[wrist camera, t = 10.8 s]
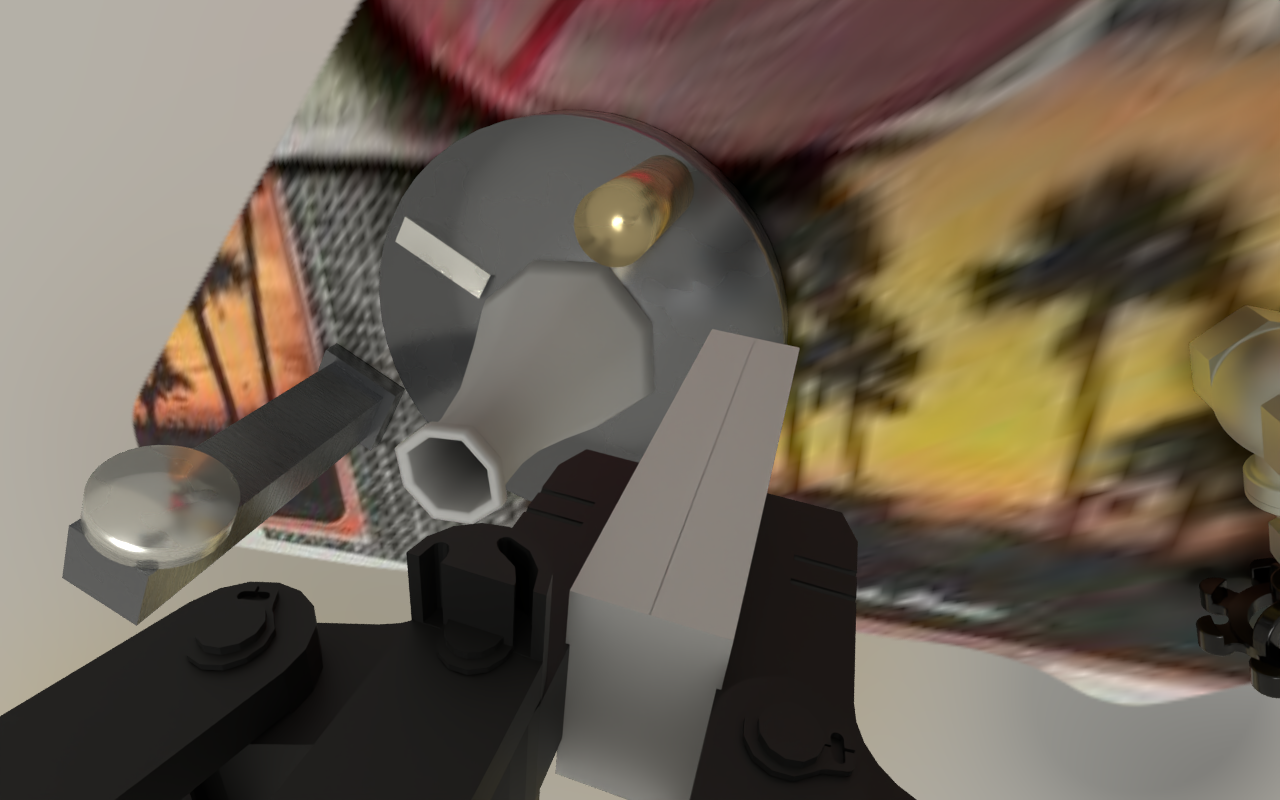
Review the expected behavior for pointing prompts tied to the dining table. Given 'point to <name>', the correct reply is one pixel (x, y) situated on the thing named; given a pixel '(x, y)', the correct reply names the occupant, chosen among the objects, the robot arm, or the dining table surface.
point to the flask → (531, 384)
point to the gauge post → (217, 486)
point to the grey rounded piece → (574, 256)
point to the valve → (1246, 479)
